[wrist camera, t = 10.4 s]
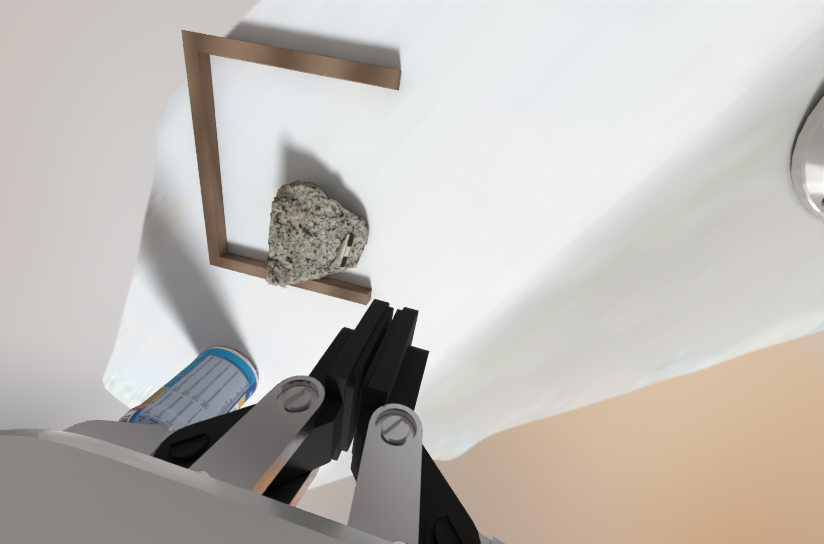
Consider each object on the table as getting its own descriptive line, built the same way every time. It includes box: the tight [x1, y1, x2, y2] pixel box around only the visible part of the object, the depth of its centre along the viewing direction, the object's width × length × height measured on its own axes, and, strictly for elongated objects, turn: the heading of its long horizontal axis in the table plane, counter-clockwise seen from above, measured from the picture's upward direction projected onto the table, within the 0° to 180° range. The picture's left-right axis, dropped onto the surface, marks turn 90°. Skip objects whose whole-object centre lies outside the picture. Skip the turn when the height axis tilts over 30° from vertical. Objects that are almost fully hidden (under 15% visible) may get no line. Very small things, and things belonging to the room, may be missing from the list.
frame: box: [182, 30, 401, 305], centre depth 29 cm, size 17×20×1 cm
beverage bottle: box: [118, 347, 258, 431], centre depth 33 cm, size 8×8×20 cm
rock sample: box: [260, 181, 368, 288], centre depth 29 cm, size 10×8×9 cm
